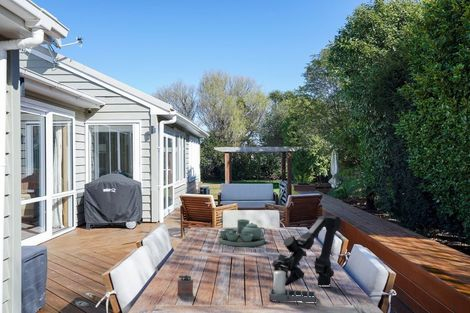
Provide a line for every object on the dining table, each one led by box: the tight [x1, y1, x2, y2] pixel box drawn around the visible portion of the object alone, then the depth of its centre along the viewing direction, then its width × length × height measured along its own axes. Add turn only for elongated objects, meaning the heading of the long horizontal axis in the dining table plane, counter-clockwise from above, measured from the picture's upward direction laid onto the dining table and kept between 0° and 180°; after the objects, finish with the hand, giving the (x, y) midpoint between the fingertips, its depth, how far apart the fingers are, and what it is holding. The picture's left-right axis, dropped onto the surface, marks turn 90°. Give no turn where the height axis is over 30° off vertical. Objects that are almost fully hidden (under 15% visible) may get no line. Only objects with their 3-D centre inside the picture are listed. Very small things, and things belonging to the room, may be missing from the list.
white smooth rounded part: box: [273, 270, 287, 295], centre depth 197 cm, size 6×6×13 cm
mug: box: [273, 257, 289, 278], centre depth 232 cm, size 12×9×10 cm
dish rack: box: [268, 288, 317, 303], centre depth 196 cm, size 23×10×4 cm, turn 82°
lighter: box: [176, 274, 194, 297], centre depth 199 cm, size 8×3×10 cm, turn 92°
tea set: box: [217, 218, 267, 248], centre depth 332 cm, size 40×40×16 cm
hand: (279, 282), depth 196 cm, fingers open, 9 cm apart
